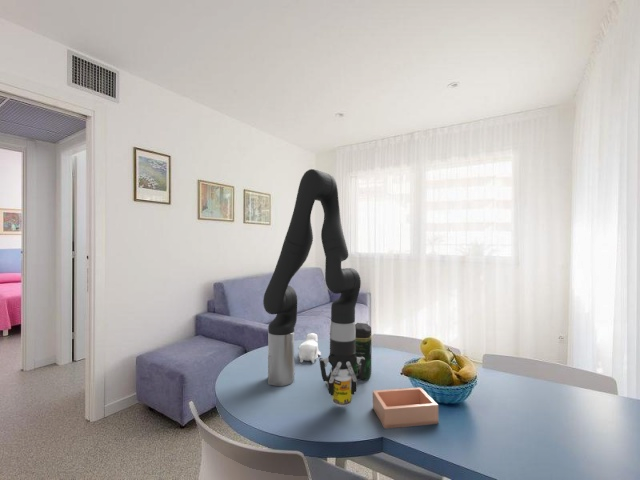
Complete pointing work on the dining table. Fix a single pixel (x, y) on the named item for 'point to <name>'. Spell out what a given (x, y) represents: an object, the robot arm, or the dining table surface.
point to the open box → (405, 407)
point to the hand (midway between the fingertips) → (342, 393)
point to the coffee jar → (363, 348)
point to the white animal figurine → (309, 348)
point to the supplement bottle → (342, 388)
